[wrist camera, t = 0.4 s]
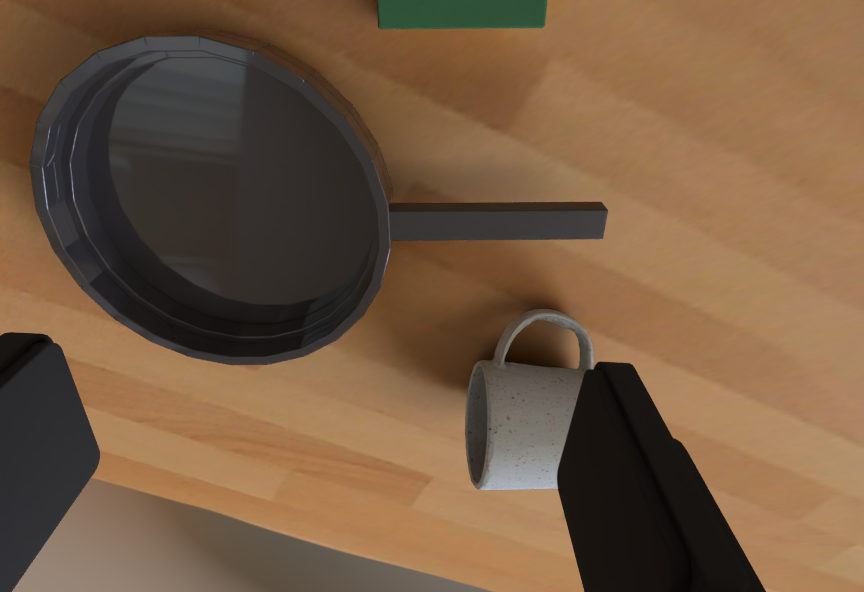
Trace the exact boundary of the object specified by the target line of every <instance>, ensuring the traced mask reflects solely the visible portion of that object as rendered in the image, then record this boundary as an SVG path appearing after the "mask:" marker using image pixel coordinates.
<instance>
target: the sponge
mask: <svg viewBox="0 0 864 592" xmlns="http://www.w3.org/2000/svg"><path fill="white" fill-rule="evenodd" d="M546 9H547V0H377V11H378V27H379V28H380V29H465V28H543V27H544V26H545V19H546Z"/></svg>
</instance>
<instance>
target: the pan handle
mask: <svg viewBox="0 0 864 592" xmlns="http://www.w3.org/2000/svg"><path fill="white" fill-rule="evenodd" d="M607 213H608V210H607V208H606V207H605V206H604V205H603V203H602V202H514V203H391V204H390V210H389V219H390V238H391V241H418V240H551V239H603V236H604V230H605V224H606V219H607Z"/></svg>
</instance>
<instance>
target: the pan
mask: <svg viewBox="0 0 864 592" xmlns="http://www.w3.org/2000/svg"><path fill="white" fill-rule="evenodd" d="M30 173H31V180H32V187H33V194H34V201H35V207H36V211H37V214H38V216H39V218H40V221H41V223H42V225H43V228H44V230H45V233H46V235H47V237H48V240H49V242H50V244H51V247H52V249H53V250H54V252H55V254H56V255H57V256H58V258H59V259H60V260H61V262H62V263H63V265H64V266H65V267H66V269H67V270H68V272H69V273H70V274H71V276H72V277H73V279H74V280H75V281H76V283H77V284H78V285H79V287H81V289H82V290H83V291H84V292H85V293H86V294H88V295H89V296H90V297H91V298H92V299H93V300H94V301H95V302H96V303H97V304H98V305H99V306H101V307H102V308H103V309H104V310H105V311H106V312H107V313H108V314H109V315H110V316H111V317H113V318H114V319H115V320H117V321H118V322H120V323H121V324H123V325H125V326H126V327H128V328H129V329H131V330H133V331H134V332H136V333H137V334H139V335H141V336H142V337H144V338H145V339H147V340H149V341H151V342H153V343H155V344H158V345H160V346H163V347H165V348H168V349H171V350H173V351H176V352H178V353H181V354H183V355H186V356H188V357H191V358H197V359H202V360H207V361H212V362H217V363H223V364H228V365H268V364H274V363H278V362H282V361H287V360H291V359H295V358H300V357H304V356H306V355H308V354H310V353H312V352H314V351H316V350H318V349H320V348H322V347H324V346H326V345H328V344H330V343H332V342H334V341H336V340H337V339H339V338H340V337H341V336H342V335H343V334H344V333H345V332H346V331H347V330H348V329H350V328H351V327H352V326H353V325H354V324H355V323H356V322H357V321H358V320H359V319H360V318H362V316H363V315H364V314H365V312H366V311H367V309H368V307H369V306H370V304H371V302H372V301H373V299H374V297H375V296H376V294H377V292H378V291H379V289H380V287H381V285H382V282H383V278H384V274H385V270H386V266H387V262H388V257H389V253H390V249H391V243H392V241H391V238H390V219H389V210H390V204H391V203H393V192H392V185H391V182H390V179H389V175H388V172H387V169H386V166H385V163H384V160H383V157H382V154H381V151H380V148H379V146H378V144H377V142H376V140H375V139H374V137H373V136H372V134H371V133H370V131H369V129H368V128H367V126H366V125H365V123H364V121H363V120H362V118H361V117H360V115H359V114H358V112H357V110H356V109H355V107H353V104H352V103H351V102H349V101H348V100H347V99H346V98H345V97H344V96H343V95H342V94H341V93H340V92H339V91H338V90H337V89H336V88H335V87H334V86H333V85H332V84H331V83H330V82H329V81H328V80H327V79H326V78H324V77H323V76H322V75H321V74H320V73H319V72H318V71H316V70H315V69H314V68H312V67H310V66H308V65H307V64H305V63H303V62H301V61H300V60H298V59H296V58H295V57H293V56H291V55H289V54H288V53H286V52H284V51H282V50H281V49H279V48H277V47H276V46H274V45H271V44H269V43H265V42H261V41H258V40H254V39H251V38H247V37H243V36H240V35H236V34H233V33H229V32H225V31H170V32H164V33H158V34H152V35H146V36H142V37H139V38H136V39H133V40H130V41H127V42H124V43H121V44H118V45H115V46H112V47H109V48H106V49H102V50H99V51H97V52H95V53H94V54H93V55H91V56H90V57H89V58H88V59H86V60H85V61H84V62H83V63H81V64H80V65H79V66H78V67H76V68H75V69H74V70H73V71H71V72H70V73H69V74H68V75H66V76H65V77H64V78H63V79H61V80H60V82H59V83H58V84H57V86H56V88H55V90H54V91H53V93H52V95H51V97H50V98H49V100H48V102H47V103H46V105H45V107H44V109H43V110H42V112H41V114H40V116H39V117H38V119H37V122H36V128H35V134H34V140H33V145H32V151H31V157H30Z"/></svg>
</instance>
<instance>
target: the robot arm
mask: <svg viewBox="0 0 864 592" xmlns="http://www.w3.org/2000/svg"><path fill="white" fill-rule="evenodd" d="M99 459H100V451H99V447H98V445H97V442H96V439H95V437H94V434H93V431H92V429H91V426H90V423H89V421H88V418H87V415H86V413H85V410H84V407H83V404H82V402H81V399H80V396H79V394H78V391H77V388H76V386H75V383H74V380H73V378H72V375H71V372H70V370H69V367H68V364H67V362H66V359H65V356H64V353H63V351H62V349H61V347H60V346H59V345H58V344H56V343H53V341H52V339H51V338H50V337H49V336H47V335H44V334H34V333H14V332H10V333H4V334H3V335H1V336H0V592H12V590H13V589H14V588H15V586H16V585H17V583H18V582H19V580H20V579H21V577H22V576H23V575H24V573H25V572H26V570H27V569H28V567H29V566H30V564H31V563H32V562H33V560H34V559H35V557H36V556H37V554H38V553H39V551H40V550H41V549H42V547H43V546H44V544H45V543H46V541H47V540H48V539H49V537H50V536H51V534H52V533H53V531H54V530H55V528H56V527H57V526H58V524H59V523H60V521H61V520H62V518H63V517H64V515H65V514H66V512H67V511H68V509H69V508H70V507H71V505H72V504H73V502H74V501H75V500H76V498H77V497H78V495H79V494H80V492H81V491H82V489H83V488H84V486H85V485H86V484H87V482H88V481H89V479H90V478H91V477H92V475H93V474H94V472H95V470H96V469H97V466H98V464H99ZM557 486H558V491H559V495H560V499H561V503H562V507H563V510H564V514H565V518H566V522H567V526H568V530H569V534H570V537H571V541H572V545H573V549H574V553H575V557H576V561H577V565H578V568H579V572H580V576H581V580H582V584H583V588H584V592H766V591H765V589H764V587H763V586H762V584H761V582H760V580H759V578H758V577H757V575H756V573H755V571H754V570H753V568H752V566H751V564H750V562H749V561H748V559H747V557H746V555H745V553H744V552H743V550H742V548H741V546H740V545H739V543H738V541H737V539H736V537H735V536H734V534H733V532H732V530H731V529H730V527H729V525H728V523H727V521H726V520H725V518H724V516H723V514H722V512H721V511H720V509H719V507H718V505H717V504H716V502H715V500H714V498H713V496H712V495H711V493H710V491H709V489H708V487H707V486H706V484H705V482H704V480H703V479H702V477H701V475H700V473H699V471H698V470H697V468H696V466H695V464H694V462H693V461H692V459H691V457H690V455H689V454H688V452H687V450H686V449H685V447H684V446H683V445H682V443H681V442H679V441H678V440H676V439H673V437H672V436H671V434H670V432H669V430H668V428H667V426H666V425H665V423H664V421H663V419H662V417H661V415H660V414H659V412H658V410H657V408H656V406H655V404H654V403H653V401H652V399H651V397H650V395H649V393H648V392H647V390H646V388H645V386H644V384H643V382H642V381H641V379H640V377H639V375H638V373H637V371H636V370H635V368H634V367H633V365H632V364H630V363H615V362H598V363H597V364H596V365H595V367H594V369H588V370H586V371H585V373H584V376H583V380H582V383H581V387H580V391H579V394H578V398H577V401H576V405H575V409H574V412H573V416H572V419H571V423H570V427H569V430H568V434H567V437H566V441H565V445H564V448H563V452H562V456H561V459H560V463H559V466H558V471H557Z"/></svg>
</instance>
